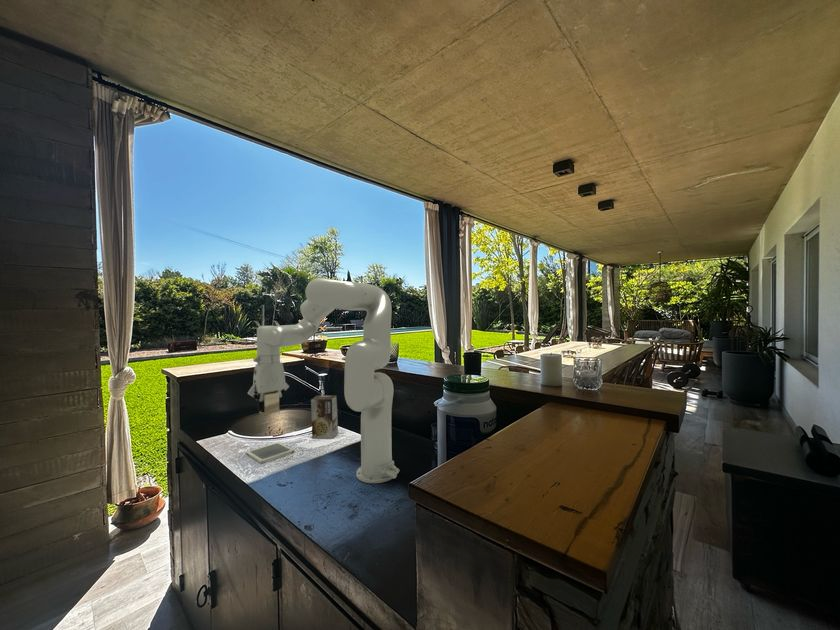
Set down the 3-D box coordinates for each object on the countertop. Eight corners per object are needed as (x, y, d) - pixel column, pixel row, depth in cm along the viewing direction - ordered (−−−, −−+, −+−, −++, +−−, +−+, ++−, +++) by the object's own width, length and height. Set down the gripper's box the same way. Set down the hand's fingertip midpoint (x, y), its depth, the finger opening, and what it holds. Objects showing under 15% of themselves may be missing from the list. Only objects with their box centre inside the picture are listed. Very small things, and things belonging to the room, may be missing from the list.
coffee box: (338, 433, 144) (337, 395, 144) (333, 438, 138) (332, 398, 138) (317, 432, 145) (317, 394, 145) (311, 438, 139) (310, 398, 139)
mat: (294, 452, 125) (294, 449, 125) (261, 463, 116) (260, 460, 116) (278, 444, 133) (278, 441, 133) (246, 454, 123) (246, 451, 123)
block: (279, 411, 124) (279, 392, 124) (265, 414, 120) (265, 395, 120) (272, 409, 128) (272, 390, 127) (259, 412, 124) (259, 393, 124)
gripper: (248, 363, 115) (249, 417, 115) (295, 358, 128) (296, 406, 128) (239, 361, 120) (240, 413, 120) (286, 356, 133) (286, 403, 133)
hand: (269, 409), depth 124 cm, fingers closed on block, 5 cm apart
